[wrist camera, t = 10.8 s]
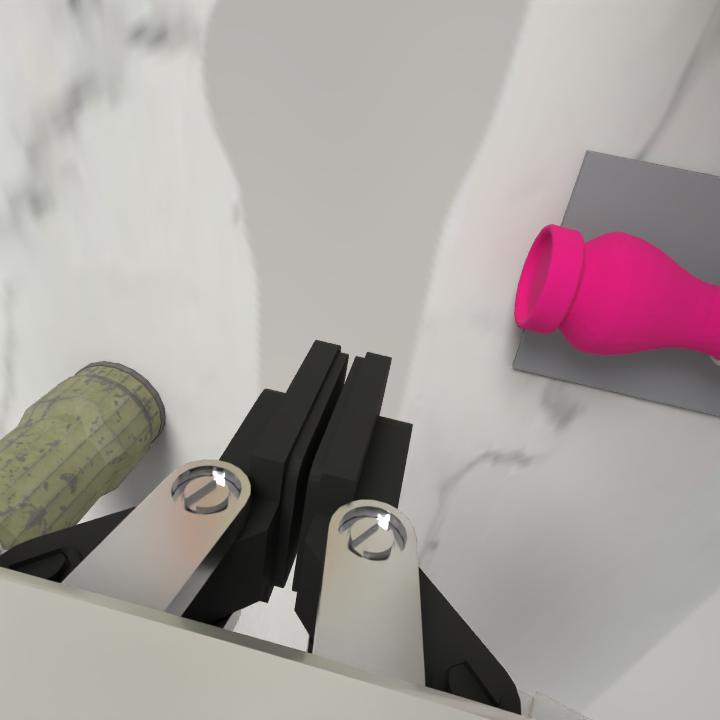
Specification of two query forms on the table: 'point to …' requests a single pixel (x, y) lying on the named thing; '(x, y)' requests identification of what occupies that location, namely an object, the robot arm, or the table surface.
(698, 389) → the mat
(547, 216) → the table surface
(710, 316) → the pepper mill
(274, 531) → the robot arm
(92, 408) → the thermos
